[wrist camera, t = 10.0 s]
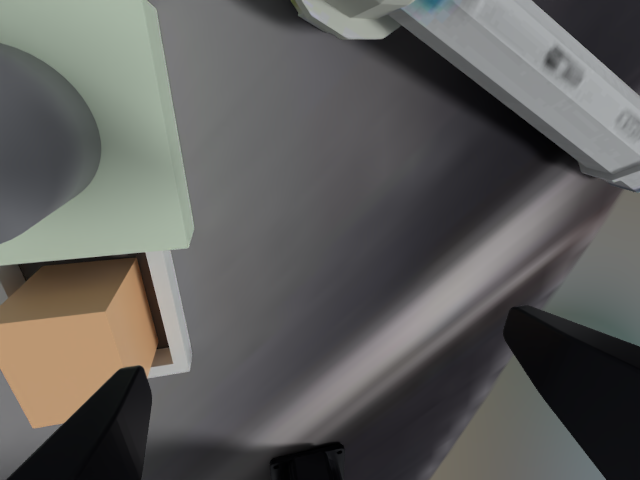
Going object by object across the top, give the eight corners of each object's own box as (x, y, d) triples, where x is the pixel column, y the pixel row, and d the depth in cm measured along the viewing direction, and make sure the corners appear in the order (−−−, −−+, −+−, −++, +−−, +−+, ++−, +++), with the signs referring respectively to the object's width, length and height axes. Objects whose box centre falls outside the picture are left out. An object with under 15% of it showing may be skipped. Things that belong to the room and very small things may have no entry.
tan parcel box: (158, 340, 21) (137, 409, 16) (78, 352, 20) (32, 428, 15) (137, 256, 18) (105, 311, 14) (43, 264, 17) (-23, 326, 13)
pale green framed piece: (215, 350, 22) (208, 444, 16) (23, 379, 20) (-64, 501, 14) (156, 9, 14) (99, -44, 8) (-180, -7, 12) (-588, -95, 6)
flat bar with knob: (655, 212, 20) (283, -53, 8) (553, 179, 26) (242, -8, 14) (721, 128, 19) (379, -355, 7) (597, 112, 24) (289, -165, 12)
